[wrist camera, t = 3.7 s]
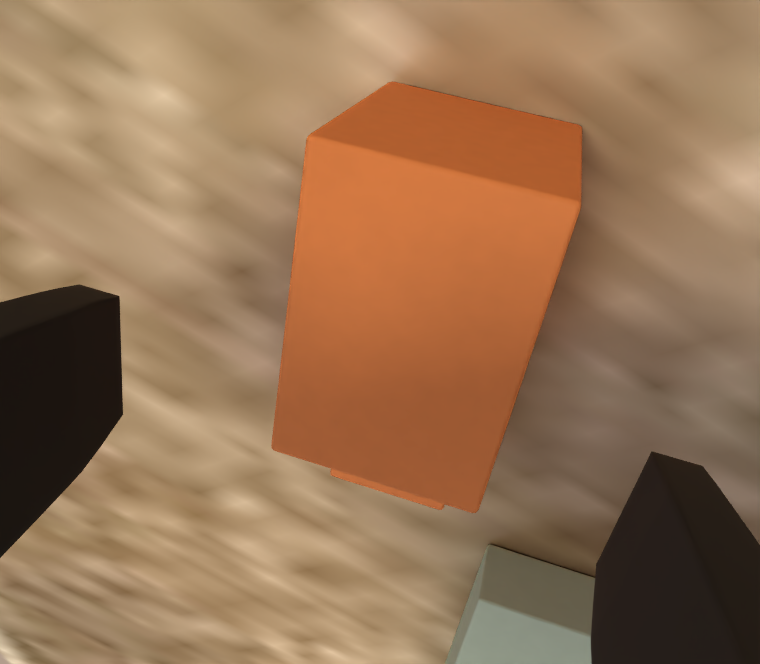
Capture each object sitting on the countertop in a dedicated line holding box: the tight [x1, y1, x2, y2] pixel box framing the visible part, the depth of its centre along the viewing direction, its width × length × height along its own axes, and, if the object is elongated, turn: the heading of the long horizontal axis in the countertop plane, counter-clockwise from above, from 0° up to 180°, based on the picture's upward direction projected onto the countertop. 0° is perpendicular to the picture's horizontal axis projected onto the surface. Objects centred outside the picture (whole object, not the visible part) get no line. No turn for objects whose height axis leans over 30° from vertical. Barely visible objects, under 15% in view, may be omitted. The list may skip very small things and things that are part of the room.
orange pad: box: [272, 82, 582, 513], centre depth 14 cm, size 4×10×5 cm, turn 170°
